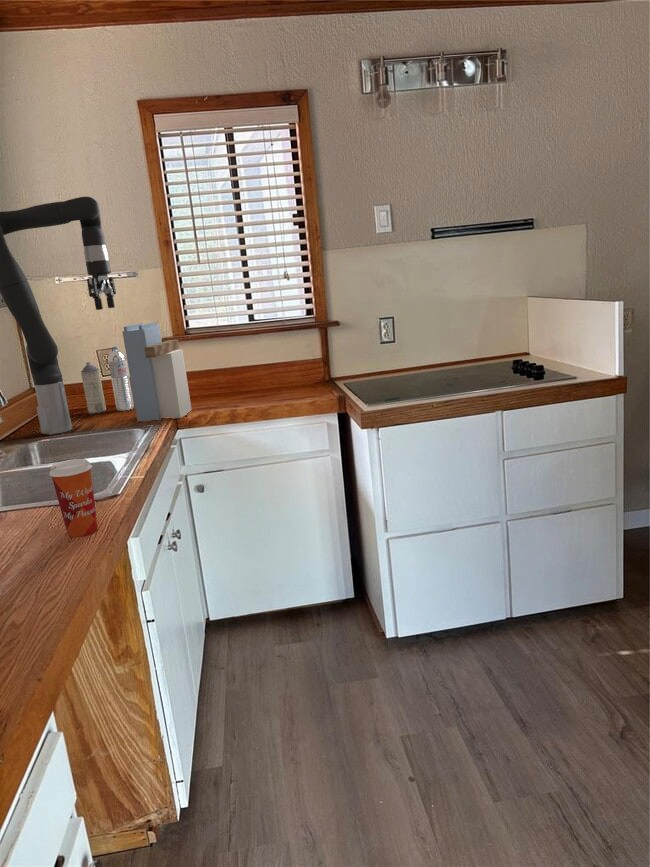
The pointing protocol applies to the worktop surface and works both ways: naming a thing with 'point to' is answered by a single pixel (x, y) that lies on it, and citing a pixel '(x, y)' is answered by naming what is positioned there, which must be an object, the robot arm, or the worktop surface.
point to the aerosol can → (93, 389)
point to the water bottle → (120, 380)
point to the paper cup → (75, 496)
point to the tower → (142, 368)
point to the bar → (161, 348)
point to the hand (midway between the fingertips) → (105, 308)
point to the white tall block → (171, 384)
